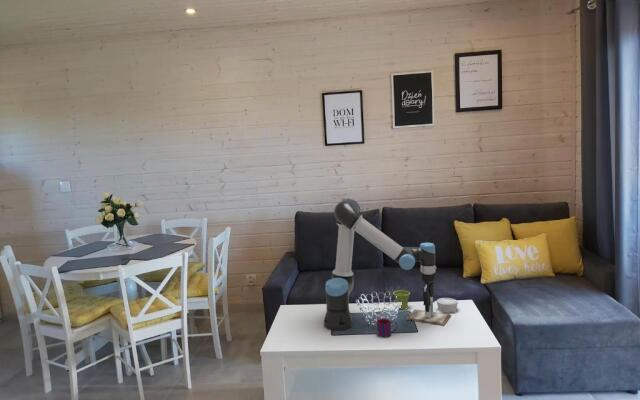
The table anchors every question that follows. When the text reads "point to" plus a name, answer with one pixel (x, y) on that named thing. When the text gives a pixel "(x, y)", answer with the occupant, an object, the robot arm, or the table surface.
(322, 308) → the table surface
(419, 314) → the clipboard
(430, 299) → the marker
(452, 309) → the ramekin
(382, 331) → the mug
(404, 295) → the plant pot
